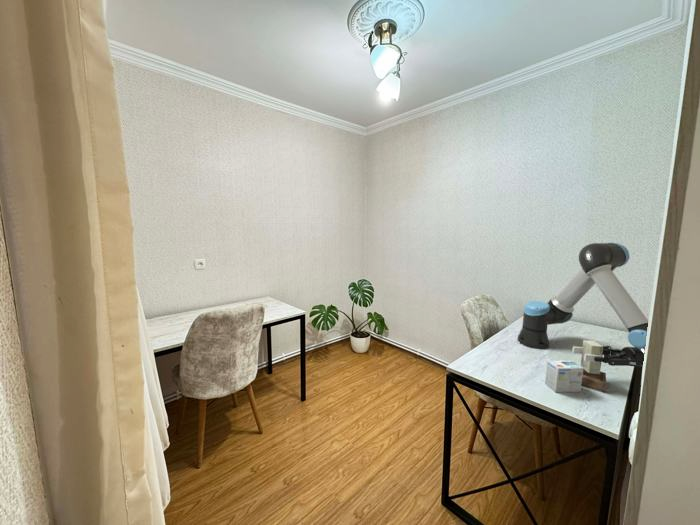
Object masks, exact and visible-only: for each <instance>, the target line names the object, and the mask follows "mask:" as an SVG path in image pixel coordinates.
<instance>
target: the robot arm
mask: <svg viewBox="0 0 700 525" xmlns="http://www.w3.org/2000/svg"><path fill="white" fill-rule="evenodd" d="M629 260H630V252H629V250H628V248H627V246H624V244H620V243H618V242H605V243H604V242H600V243H599V242H594V243H593V242H592V243H589V244H587V245H585V246H584V247H582V249H580V251H579V254H578V261H579V265H580V266H581V269H580V270H579V271H578V273H576V275H575V276H574V277H573V278H572V279H571V280H570V282H568V284H567V285H566V286H565V287H564V288H563V289H562V291H561V292H560V293H559V294H558V295H557V296H553V297H551V299H549V300H548V301H547V302H545V301H540V300H537V301H535V300H534V301H533V300H531V301H528V302H526V303H525V304H524V308H523V318H522V319H523V320H522V328H520V332H519V334H518V335H517V342H518V341H519V342H520V343H519V342H518V343H519V344H521V345H522V344H523V345H522V346H525V347H528V348H530V349H531V348H532V349H537V350H538V349H539V350H546V349H549V348H550V339H549V335H548V326H550V325H558V324H565V323H567V322H569V321H570V320H571V319H572V318H573V316H574V314H573V313H574V311H575V308H574V307H575V305H576V304H577V303H578V302H580V300H581V299H582V298H584V296H585V295H586V294H587V293H588V292H589V291H590V289H591V288H593V287H594V286H595V285H596V286H597V288H598V289H599V291H600V292H601V293H602V295H603V296H604V298H605V299H606V300H607V302H608V303H609V305H610V307H611V308H612V310H613V311H614V312H615V313H616V315H617V316H618V319H620V320H621V322H622V324H623V326H624V327H625V328H626V330H627V331H628V335H627V340H628V342H629V344H630V345H631V346H625V347H623V348H622V349H618V348H615V349H614V348H612V346H610V345H606V346H605V345H602V346H603V353H602V355H590V354H585V356H584V361H591V362H601V363H603V364H608V366H610V367H611V366H613V367H614V366H618V367H619V366H623V367H625V366H627V367H643V361H644V354H645V346H646V336H647V327H648V321H649V319H648V318H647V317H646V315H645V314H644V313H643V311H642V310H641V308H640V307H639V306H638V304H637V303H636V302H635V300H634V299H633V297H632V296H631V295H630V293H629V292H628V290H627V289H626V288H625V287H624V285H623V283H622V282H621V281H620V280H619V279H618V277H617V276H616V274H615V273H614V270H616V268H620V267H622V266H625V265H626V264H627V263H628V262H629ZM582 348H583V346H572V351H571V352H572V353H573V354H581V355H582Z"/></svg>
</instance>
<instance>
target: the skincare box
mask: <svg viewBox="0 0 700 525" xmlns="http://www.w3.org/2000/svg"><path fill="white" fill-rule="evenodd" d="M603 346H604V345H601V344H600V343H598V342H596V341H594V340H583V341H582V347H583V348H582V354H581V358H580V364H579V365H580V366H581V367H583V369H584V370H585V371H587V372H588V373H593V374H600V371H601V368H602V362H591V361H584V356H585V354H590V355H602V353H603ZM602 356H603V355H602Z"/></svg>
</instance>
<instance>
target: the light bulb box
mask: <svg viewBox="0 0 700 525" xmlns="http://www.w3.org/2000/svg"><path fill="white" fill-rule="evenodd" d="M580 365H581V364H578V363H577V362H575V361H573V360H570V359H569V360H567V359H566V360H565V359H564V360H547V362H546V371H545V380H544V385H546V386H547V387H549V389H551V390H552V391H553V392H555V393H580V392H581V389H582V388H581V387H582V386H581V383H582V375H583V367H581V366H580Z"/></svg>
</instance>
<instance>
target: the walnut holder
mask: <svg viewBox="0 0 700 525" xmlns="http://www.w3.org/2000/svg"><path fill="white" fill-rule="evenodd" d="M581 387H584V388H586V389H590V390H594V391H597V392H599V393H600V392H601V393H603V394H605V393H606V387H607V373H606V372H603V371H601V370H600V374H593V373H588V372H587V371H585V370H584V369H583V375H582V383H581Z"/></svg>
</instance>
